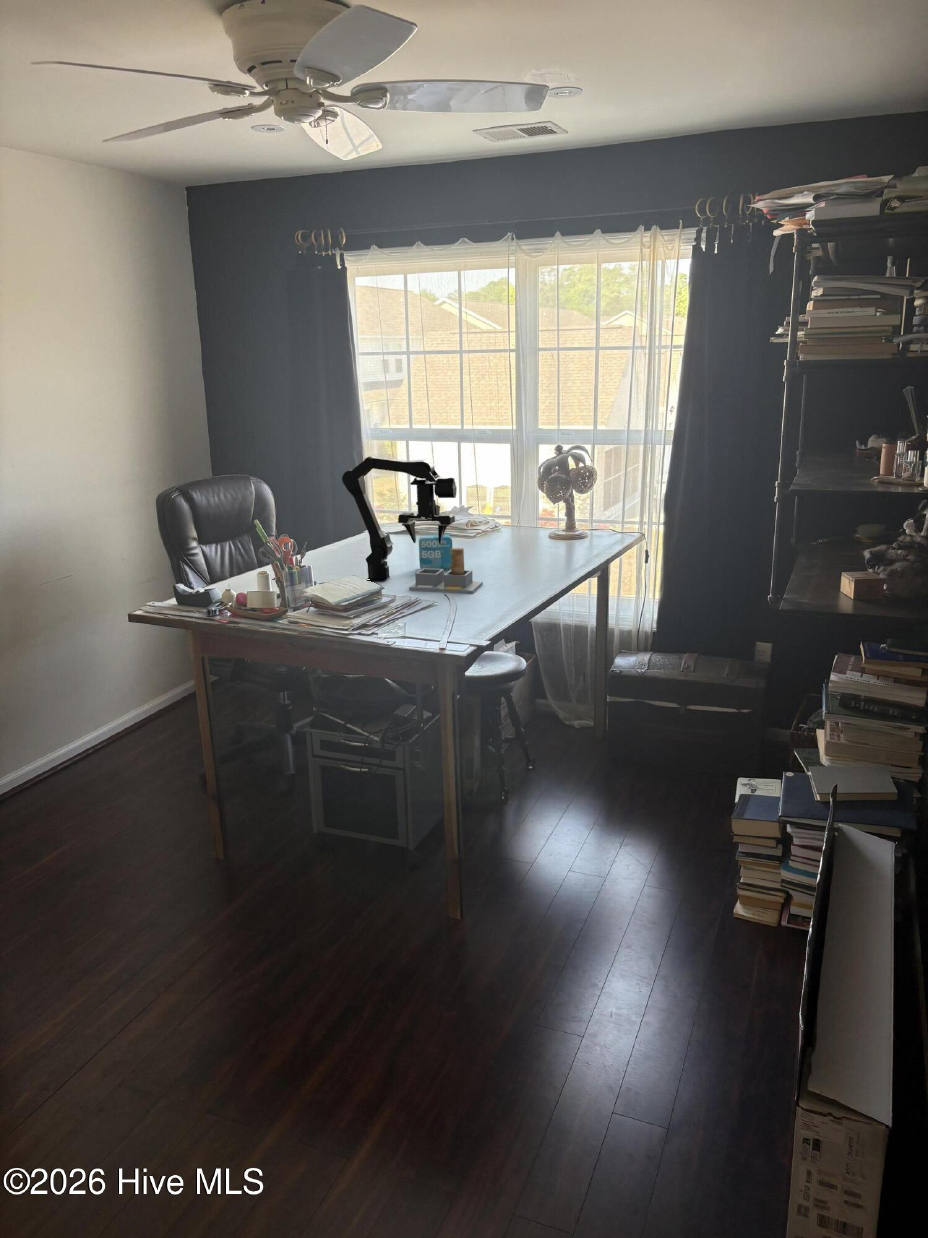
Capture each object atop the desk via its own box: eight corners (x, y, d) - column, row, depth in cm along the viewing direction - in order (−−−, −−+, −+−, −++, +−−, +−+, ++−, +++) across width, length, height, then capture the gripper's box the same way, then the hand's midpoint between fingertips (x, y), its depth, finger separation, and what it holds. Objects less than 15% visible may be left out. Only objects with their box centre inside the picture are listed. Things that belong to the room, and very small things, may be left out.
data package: (420, 571, 323) (418, 538, 319) (419, 568, 327) (418, 535, 324) (453, 569, 324) (452, 536, 320) (452, 566, 328) (451, 534, 325)
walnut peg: (449, 584, 298) (447, 549, 294) (457, 581, 301) (456, 546, 298) (459, 586, 296) (457, 551, 292) (467, 583, 299) (466, 548, 295)
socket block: (409, 590, 297) (408, 575, 295) (421, 581, 308) (420, 567, 306) (472, 593, 290) (472, 578, 289) (482, 584, 301) (482, 570, 300)
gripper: (459, 494, 305) (460, 539, 310) (408, 493, 311) (410, 537, 315) (449, 499, 295) (450, 546, 300) (396, 498, 301) (398, 544, 305)
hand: (427, 543), depth 305 cm, fingers open, 9 cm apart
